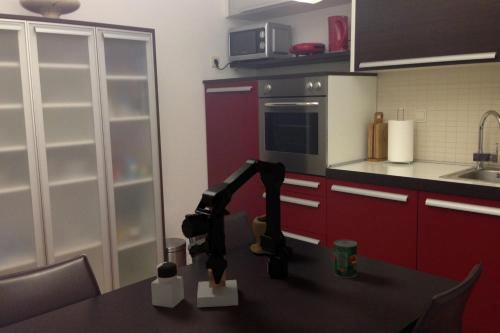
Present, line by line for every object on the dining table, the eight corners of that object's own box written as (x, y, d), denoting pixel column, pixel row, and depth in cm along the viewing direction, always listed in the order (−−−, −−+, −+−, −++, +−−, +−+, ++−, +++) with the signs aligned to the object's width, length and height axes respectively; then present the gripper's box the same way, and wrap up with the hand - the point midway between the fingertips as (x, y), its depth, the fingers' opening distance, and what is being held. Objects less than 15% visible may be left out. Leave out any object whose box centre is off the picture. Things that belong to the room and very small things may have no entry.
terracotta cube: (225, 280, 143) (224, 265, 142) (225, 286, 138) (225, 270, 137) (209, 281, 142) (208, 265, 142) (209, 287, 137) (208, 271, 137)
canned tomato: (359, 277, 154) (359, 246, 152) (335, 278, 154) (335, 246, 152) (354, 269, 161) (354, 239, 160) (332, 269, 162) (332, 239, 160)
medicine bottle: (184, 298, 141) (182, 261, 139) (173, 308, 134) (171, 269, 132) (163, 295, 143) (161, 259, 141) (151, 305, 136) (149, 267, 135)
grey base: (236, 288, 147) (236, 279, 147) (238, 305, 135) (237, 295, 135) (199, 290, 146) (198, 281, 146) (197, 307, 134) (197, 297, 134)
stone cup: (254, 258, 175) (253, 220, 173) (248, 248, 187) (247, 213, 185) (292, 254, 178) (292, 217, 176) (284, 245, 190) (283, 210, 188)
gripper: (190, 224, 146) (192, 270, 149) (186, 241, 128) (189, 294, 130) (225, 222, 147) (226, 269, 149) (226, 240, 129) (228, 292, 131)
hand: (217, 280), depth 140 cm, fingers closed on terracotta cube, 5 cm apart
